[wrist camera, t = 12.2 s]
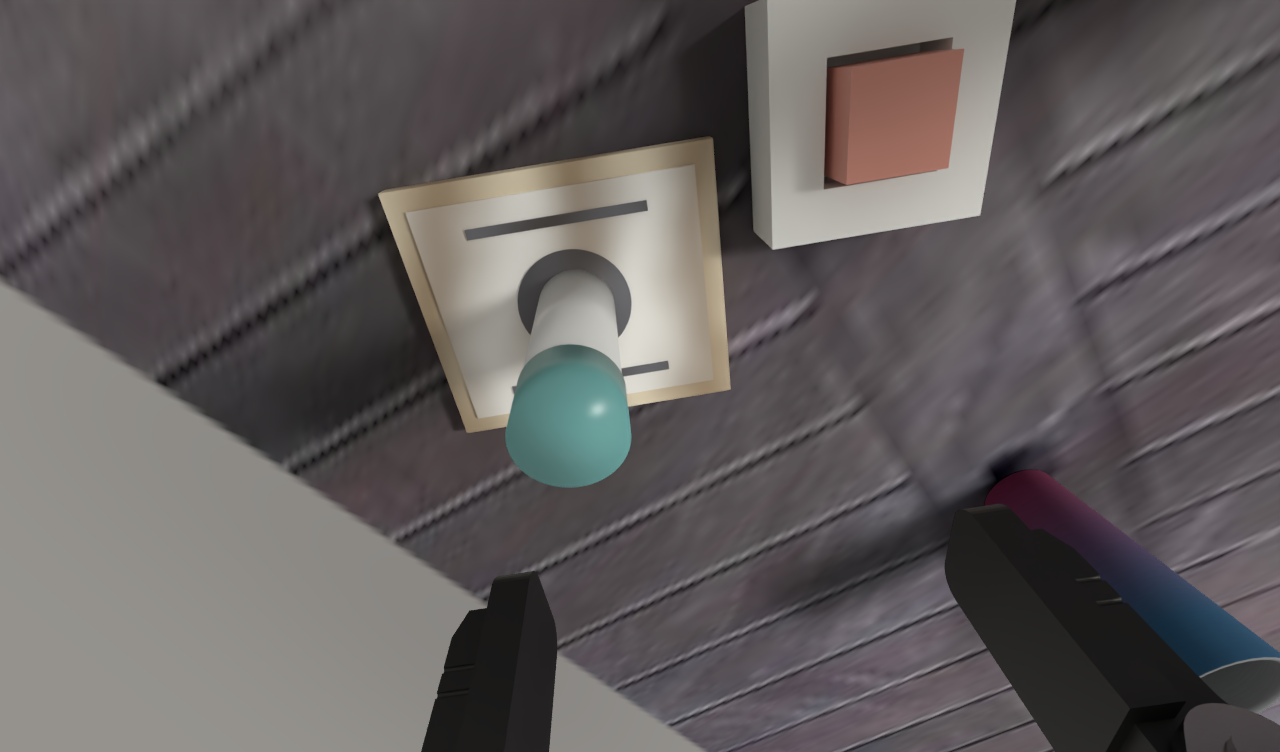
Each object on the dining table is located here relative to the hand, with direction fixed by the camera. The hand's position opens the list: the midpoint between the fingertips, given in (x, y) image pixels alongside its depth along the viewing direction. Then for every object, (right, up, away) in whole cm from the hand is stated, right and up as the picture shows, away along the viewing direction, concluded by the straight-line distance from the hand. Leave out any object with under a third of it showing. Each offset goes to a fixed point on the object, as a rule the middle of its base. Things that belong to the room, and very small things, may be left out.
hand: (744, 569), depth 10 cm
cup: (+26, -5, +30) cm, 40 cm away
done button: (+8, +15, +14) cm, 22 cm away
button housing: (+8, +17, +16) cm, 24 cm away
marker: (-5, +7, +18) cm, 20 cm away
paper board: (-6, +8, +19) cm, 22 cm away
